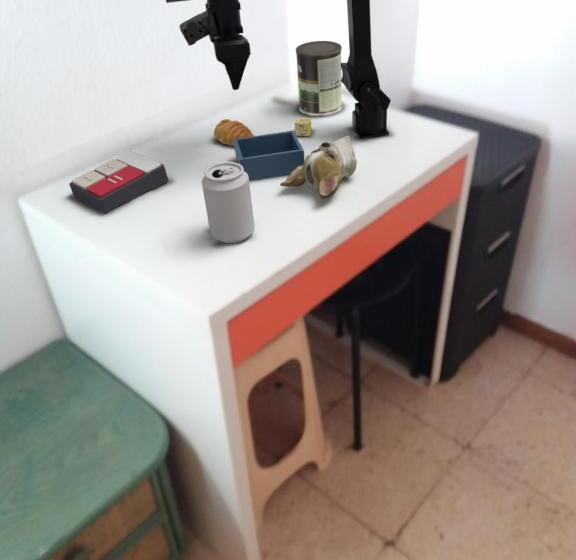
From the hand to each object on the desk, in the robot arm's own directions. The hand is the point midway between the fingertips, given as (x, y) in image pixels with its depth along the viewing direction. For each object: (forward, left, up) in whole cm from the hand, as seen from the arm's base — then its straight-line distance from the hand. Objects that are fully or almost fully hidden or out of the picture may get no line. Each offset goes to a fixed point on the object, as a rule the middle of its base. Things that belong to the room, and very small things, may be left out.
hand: (232, 81), depth 119 cm
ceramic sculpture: (-13, +21, -15) cm, 29 cm away
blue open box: (-5, +9, -15) cm, 18 cm away
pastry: (+1, -6, -15) cm, 16 cm away
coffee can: (-21, -17, -15) cm, 31 cm away
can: (+6, +32, -15) cm, 36 cm away
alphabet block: (-14, -4, -15) cm, 21 cm away
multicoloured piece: (+25, +9, -15) cm, 31 cm away
